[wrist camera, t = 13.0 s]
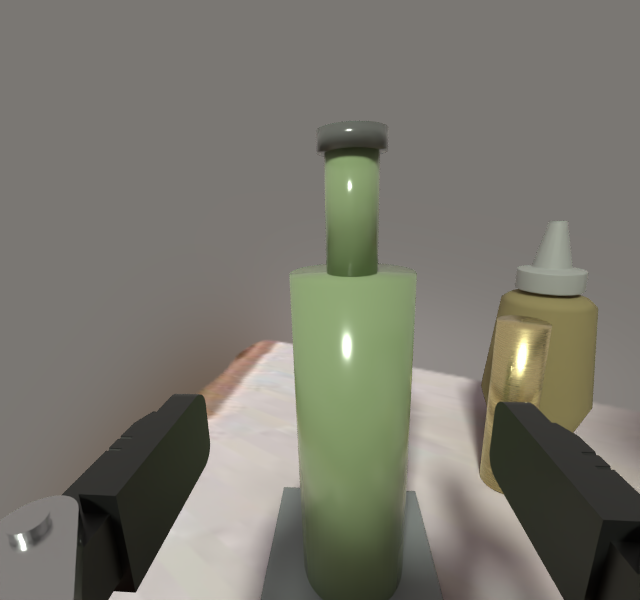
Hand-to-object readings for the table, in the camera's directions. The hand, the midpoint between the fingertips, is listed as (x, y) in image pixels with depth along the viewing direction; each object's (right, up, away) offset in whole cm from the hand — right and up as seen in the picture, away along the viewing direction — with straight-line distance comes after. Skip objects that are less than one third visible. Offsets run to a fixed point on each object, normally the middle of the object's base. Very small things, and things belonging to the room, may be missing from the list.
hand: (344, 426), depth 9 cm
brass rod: (+13, -9, +15) cm, 22 cm away
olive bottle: (+1, -11, +9) cm, 14 cm away
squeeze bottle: (+18, -8, +21) cm, 28 cm away
